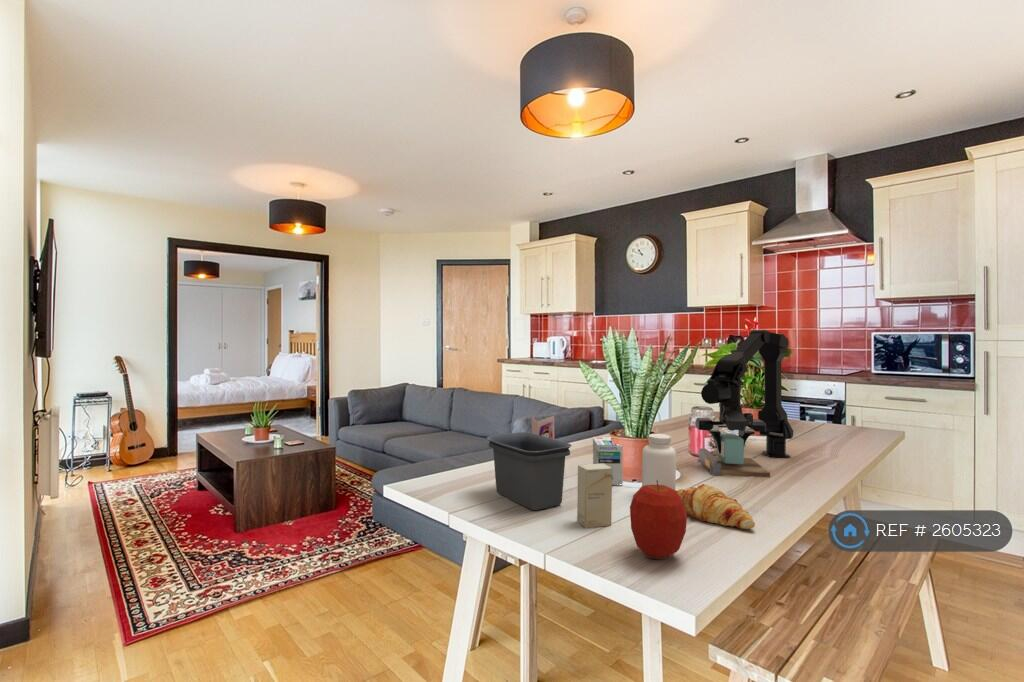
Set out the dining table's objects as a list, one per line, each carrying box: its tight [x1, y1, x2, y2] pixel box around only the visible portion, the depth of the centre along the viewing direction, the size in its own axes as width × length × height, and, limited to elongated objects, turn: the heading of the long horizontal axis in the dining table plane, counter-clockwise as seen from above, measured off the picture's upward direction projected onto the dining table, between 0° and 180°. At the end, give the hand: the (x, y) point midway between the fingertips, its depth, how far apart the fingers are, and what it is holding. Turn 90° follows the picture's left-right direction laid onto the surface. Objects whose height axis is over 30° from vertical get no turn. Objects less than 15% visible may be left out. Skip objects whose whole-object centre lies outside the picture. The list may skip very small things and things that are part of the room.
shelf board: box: [714, 456, 771, 478], centre depth 150 cm, size 17×13×1 cm
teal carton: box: [716, 432, 745, 464], centre depth 150 cm, size 5×9×7 cm, turn 172°
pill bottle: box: [641, 433, 677, 490], centre depth 124 cm, size 8×8×15 cm
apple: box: [629, 480, 688, 560], centre depth 91 cm, size 10×10×14 cm
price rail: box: [698, 447, 722, 477], centre depth 151 cm, size 18×2×4 cm, turn 172°
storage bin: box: [486, 431, 573, 511], centre depth 123 cm, size 21×16×14 cm
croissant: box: [675, 483, 756, 530], centre depth 111 cm, size 21×10×8 cm, turn 32°
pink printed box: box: [531, 414, 555, 439], centre depth 150 cm, size 11×7×15 cm, turn 150°
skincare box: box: [576, 463, 613, 529], centre depth 107 cm, size 6×4×12 cm
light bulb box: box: [592, 436, 624, 486], centre depth 138 cm, size 11×7×11 cm, turn 179°
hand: (729, 453), depth 150 cm, fingers closed on teal carton, 5 cm apart
